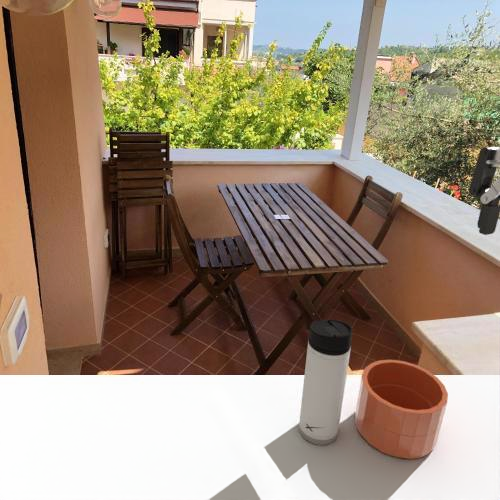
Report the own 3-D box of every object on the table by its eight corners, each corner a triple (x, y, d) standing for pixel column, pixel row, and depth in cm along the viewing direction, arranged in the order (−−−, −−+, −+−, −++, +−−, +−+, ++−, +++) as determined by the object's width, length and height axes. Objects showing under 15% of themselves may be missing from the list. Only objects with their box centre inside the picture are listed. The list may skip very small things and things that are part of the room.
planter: (394, 393, 79) (402, 352, 75) (453, 443, 68) (466, 397, 65) (339, 414, 73) (345, 371, 70) (394, 472, 62) (405, 424, 59)
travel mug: (308, 450, 65) (322, 339, 58) (293, 420, 71) (303, 315, 64) (345, 443, 67) (363, 334, 60) (327, 414, 73) (341, 311, 66)
